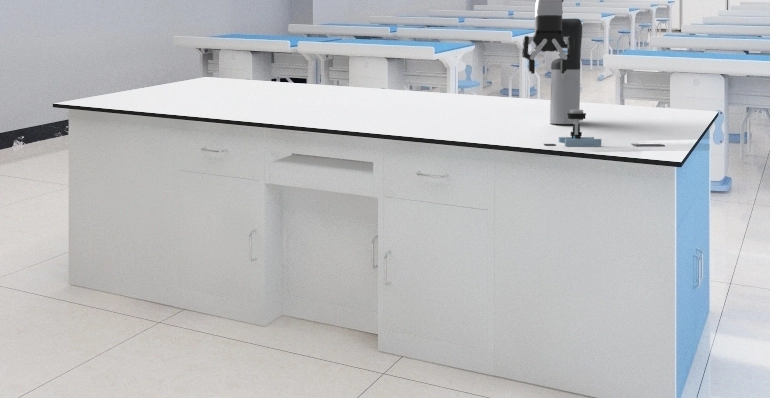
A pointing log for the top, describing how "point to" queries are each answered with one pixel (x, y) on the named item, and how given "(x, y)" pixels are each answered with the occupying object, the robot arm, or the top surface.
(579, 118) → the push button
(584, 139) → the channel
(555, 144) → the trap plate
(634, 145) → the mat
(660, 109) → the top surface
